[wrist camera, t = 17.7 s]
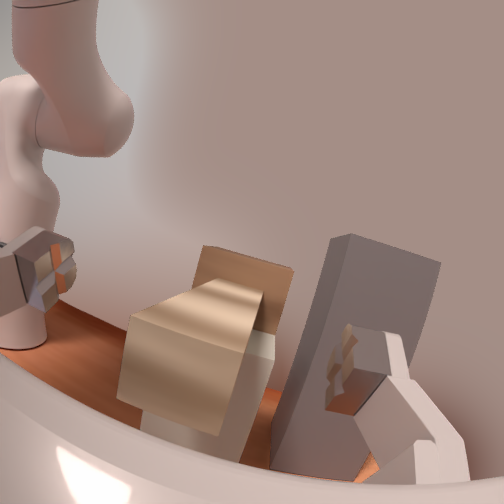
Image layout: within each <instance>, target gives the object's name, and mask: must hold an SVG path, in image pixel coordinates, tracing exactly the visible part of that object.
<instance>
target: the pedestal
mask: <svg viewBox="0 0 504 504" xmlns="http://www.w3.org/2000/svg"><path fill="white" fill-rule="evenodd" d="M440 265H441V262H438V261H435V260H432V259H429V258H426V257H423V256H420V255H417V254H414V253H411V252H408V251H405V250H402V249H399V248H396V247H392V246H390V245H386V244H383V243H380V242H377V241H374V240H371V239H367V238H364V237H361V236H358V235H355V234H347V235H343V236H339V237H336V238H331V239H330V243H329V247H328V250H327V254H326V258H325V261H324V265H323V268H322V272H321V275H320V279H319V282H318V285H317V289H316V292H315V296H314V299H313V302H312V305H311V309H310V312H309V315H308V318H307V322H306V325H305V328H304V331H303V334H302V337H301V340H300V343H299V346H298V349H297V352H296V355H295V358H294V361H293V365H292V367H291V370H290V373H289V376H288V379H287V382H286V384H285V387H284V390H283V393H282V395H281V398H280V401H279V404H278V406H277V409H276V412H275V414H274V417H273V420H272V422H271V449H270V469H272V470H277V471H282V472H287V473H293V474H299V475H305V476H311V477H318V478H326V479H334V480H343V481H354V479H355V478H356V476H357V474H358V472H359V471H360V469H361V467H362V465H363V464H364V462H365V460H366V458H367V456H368V455H369V453H370V449H369V447H368V445H367V443H366V441H365V439H364V437H363V435H362V433H361V432H360V430H359V428H358V426H357V424H356V422H355V420H354V418H353V417H354V416H350V415H345V414H340V413H336V412H331V411H326V410H325V394H326V389H327V388H328V386H329V384H330V382H329V381H328V379H327V378H326V374H327V366H328V362H329V359H330V355H331V353H332V351H333V349H334V347H335V345H337V344H339V343H341V342H342V336H341V334H342V332H343V330H344V329H345V327H346V326H347V325H348V324H352V325H356V326H361V327H365V328H369V329H373V330H377V331H381V332H382V331H384V332H389V333H394V334H398V335H400V337H401V339H402V343H403V348H404V352H405V357H406V361H407V366H408V368H409V366H410V363H411V360H412V358H413V355H414V352H415V349H416V347H417V344H418V341H419V338H420V335H421V332H422V329H423V326H424V323H425V320H426V317H427V313H428V310H429V306H430V303H431V300H432V297H433V292H434V289H435V286H436V282H437V278H438V274H439V269H440Z"/></svg>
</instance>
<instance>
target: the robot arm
mask: <svg viewBox="0 0 504 504" xmlns="http://www.w3.org/2000/svg"><path fill="white" fill-rule="evenodd" d="M97 8H98V0H12V44H13V45H12V46H13V54H14V57H15V59H16V61H17V63H18V64H19V65H20V67H22V68H23V69H24V70H25V71H26V72H28V73H29V74H24V75H17V76H12V77H7V78H5V79H4V80H2V81H1V82H0V347H3V348H10V349H26V348H32V347H35V346H38V345H40V344H42V343H43V342H44V341H45V340H46V338H47V332H46V326H45V317H44V312H45V313H46V312H47V311H48V310H49V309H50V308H51V307H52V306H53V305H54V304H55V303H56V302H57V301H58V298H59V294H62V293H65V292H67V291H68V290H69V289H70V288H71V287H72V285H73V283H74V281H75V279H76V272H77V269H76V263H75V262H74V260H73V258H72V255H73V253H74V245H73V242H72V241H71V240H70V239H69V238H67V237H64V236H62V235H59V234H56V233H54V232H53V230H54V225H55V221H56V217H57V213H58V209H59V205H60V198H59V192H58V190H57V188H56V186H55V184H54V183H53V182H52V180H51V179H50V178H49V177H48V176H47V175H46V174H45V173H44V171H43V168H42V157H43V152H44V149H49V150H54V151H58V152H62V153H66V154H70V155H74V156H79V157H110V156H112V155H113V154H115V153H116V152H117V151H118V150H119V149H121V147H122V146H123V145H124V144H125V142H126V141H127V139H128V138H129V135H130V134H131V131H132V128H133V123H134V110H133V106H132V103H131V101H130V98H129V97H128V95H127V94H125V93H124V92H123V91H122V90H121V89H120V88H119V87H118V86H117V85H116V84H115V83H114V82H113V81H112V79H111V78H110V76H109V75H108V73H107V72H106V70H105V68H104V66H103V64H102V61H101V59H100V57H99V53H98V50H97V45H96V18H97ZM341 336H342V342H341V343H339V344H337V345H335V347H334V349H333V351H332V353H331V355H330V359H329V362H328V366H327V374H326V378H327V379H328V381H329V382H330V384H329V386H328V388H327V389H326V394H325V410H326V411H331V412H336V413H340V414H345V415H350V416H354V417H353V418H354V420H355V422H356V424H357V426H358V428H359V430H360V432H361V433H362V435H363V437H364V439H365V441H366V443H367V445H368V447H369V449H370V451H371V453H372V455H373V457H374V459H375V461H376V463H377V464H378V466H379V468H380V470H378V471H377V472H376V473H374V474H373V475H371V476H370V477H369V478H367V479H366V480H365V481H363V483H353V482H342V481H332V480H324V479H316V478H309V477H303V476H297V475H291V474H285V473H280V472H275V471H270V470H265V469H261V468H256V467H252V466H248V465H244V464H240V463H236V462H232V461H228V460H225V459H221V458H218V457H214V456H211V455H207V454H204V453H201V452H198V451H195V450H192V449H189V448H186V447H183V446H180V445H177V444H174V443H171V442H169V441H166V440H163V439H161V438H158V437H155V436H153V435H150V434H148V433H145V432H143V431H140V430H138V429H136V428H133V427H131V426H129V425H126V424H124V423H122V422H120V421H117V420H115V419H113V418H111V417H109V416H107V415H105V414H102V413H100V412H98V411H96V410H94V409H92V408H90V407H88V406H86V405H85V404H83V403H81V402H79V401H77V400H75V399H73V398H71V397H70V396H68V395H66V394H64V393H62V392H61V391H59V390H57V389H55V388H54V387H52V386H50V385H49V384H47V383H45V382H44V381H42V380H40V379H39V378H37V377H36V376H34V375H32V374H31V373H29V372H28V371H26V370H25V369H23V368H22V367H20V366H19V365H17V364H16V363H14V362H13V361H11V360H10V359H9V358H7V357H6V356H4V355H3V354H1V353H0V504H504V476H502V477H495V478H489V479H482V480H474V481H470V476H469V469H468V463H467V457H466V451H465V446H464V441H463V439H462V438H461V436H460V435H459V434H458V433H457V432H456V430H455V429H454V428H453V426H452V425H451V424H450V423H449V421H448V420H447V419H446V418H445V416H444V415H443V414H442V413H441V412H440V410H439V409H438V408H437V407H436V405H435V404H434V403H433V402H432V401H431V399H430V398H429V397H428V396H427V395H426V393H425V392H424V391H423V390H422V388H421V387H420V386H419V385H418V384H417V383H416V381H415V380H410V376H409V371H408V366H407V361H406V357H405V352H404V348H403V343H402V339H401V337H400V335H398V334H394V333H389V332H384V331H382V332H381V331H377V330H373V329H369V328H365V327H361V326H356V325H352V324H348V325H347V326H346V327H345V329H344V330H343V332H342V334H341Z"/></svg>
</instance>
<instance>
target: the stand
mask: <svg viewBox="0 0 504 504" xmlns="http://www.w3.org/2000/svg"><path fill="white" fill-rule="evenodd" d="M274 361H275V335H272V334H268V333H264V332H261V331H257V330H254V329H252V332H251V336H250V339H249V342H248V345H247V348H246V352H245V355H244V358H243V361H242V364H241V368H240V371H239V374H238V377H237V380H236V383H235V386H234V390H233V393H232V396H231V399H230V402H229V405H228V408H227V411H226V414H225V417H224V421H223V424H222V427H221V430H220V433H219V436H215V435H211V434H208V433H205V432H202V431H199V430H196V429H193V428H190V427H187V426H184V425H181V424H178V423H175V422H173V421H170V420H167V419H165V418H162V417H159V416H157V415H154V414H152V413H149V412H147V411H144V410H143V413H142V419H141V425H140V431H143V432H145V433H148V434H150V435H153V436H155V437H158V438H161V439H163V440H166V441H169V442H171V443H174V444H177V445H180V446H183V447H186V448H189V449H192V450H195V451H198V452H201V453H204V454H207V455H211V456H214V457H218V458H221V459H225V460H228V461H232V462H236V463H239V460H240V458H241V455H242V453H243V450H244V447H245V444H246V442H247V439H248V436H249V434H250V431H251V428H252V425H253V422H254V420H255V417H256V414H257V411H258V408H259V405H260V403H261V400H262V397H263V394H264V391H265V388H266V385H267V382H268V379H269V376H270V373H271V370H272V367H273V364H274Z"/></svg>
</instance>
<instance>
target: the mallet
mask: <svg viewBox="0 0 504 504" xmlns="http://www.w3.org/2000/svg"><path fill="white" fill-rule="evenodd" d="M293 273H294V271H293V270H292V269H291V268H289V267H286V266H282V265H279V264H275V263H271V262H268V261H265V260H261V259H258V258H254V257H251V256H247V255H244V254H240V253H237V252H233V251H230V250H226V249H223V248H219V247H213V246H204V245H203V248H202V251H201V255H200V259H199V262H198V266H197V270H196V274H195V278H194V281H193V285H192V289H191V290H189V291H186V292H184V293H182V294H179V295H177V296H175V297H172V298H170V299H168V300H165V301H163V302H161V303H158V304H156V305H153V306H151V307H149V308H146V309H144V310H142V311H139V312H137V313H134V314H132V315H130V320H129V325H128V330H127V335H126V340H125V346H124V352H123V357H122V363H121V370H120V376H119V383H118V390H117V397H116V399H119V400H121V401H123V402H125V403H128V404H130V405H132V406H135V407H137V408H139V409H142V410H144V411H147V412H149V413H152V414H154V415H157V416H159V417H162V418H165V419H167V420H170V421H173V422H175V423H178V424H181V425H184V426H187V427H190V428H193V429H196V430H199V431H202V432H205V433H208V434H211V435H215V436H219V433H220V430H221V427H222V424H223V421H224V417H225V414H226V411H227V408H228V405H229V402H230V399H231V396H232V393H233V390H234V386H235V383H236V380H237V377H238V374H239V371H240V368H241V364H242V361H243V358H244V355H245V352H246V348H247V345H248V342H249V339H250V336H251V332H252V329H254V330H257V331H261V332H264V333H268V334H272V335H275V333H276V331H277V327H278V324H279V321H280V317H281V314H282V311H283V308H284V304H285V301H286V298H287V294H288V291H289V287H290V284H291V281H292V277H293Z"/></svg>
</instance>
